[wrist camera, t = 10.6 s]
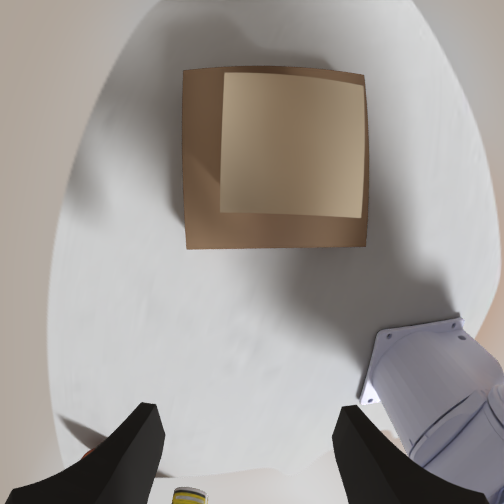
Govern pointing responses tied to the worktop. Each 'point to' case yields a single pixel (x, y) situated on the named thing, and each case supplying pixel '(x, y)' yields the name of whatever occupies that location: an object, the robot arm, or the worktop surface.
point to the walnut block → (209, 173)
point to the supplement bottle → (189, 496)
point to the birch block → (292, 145)
